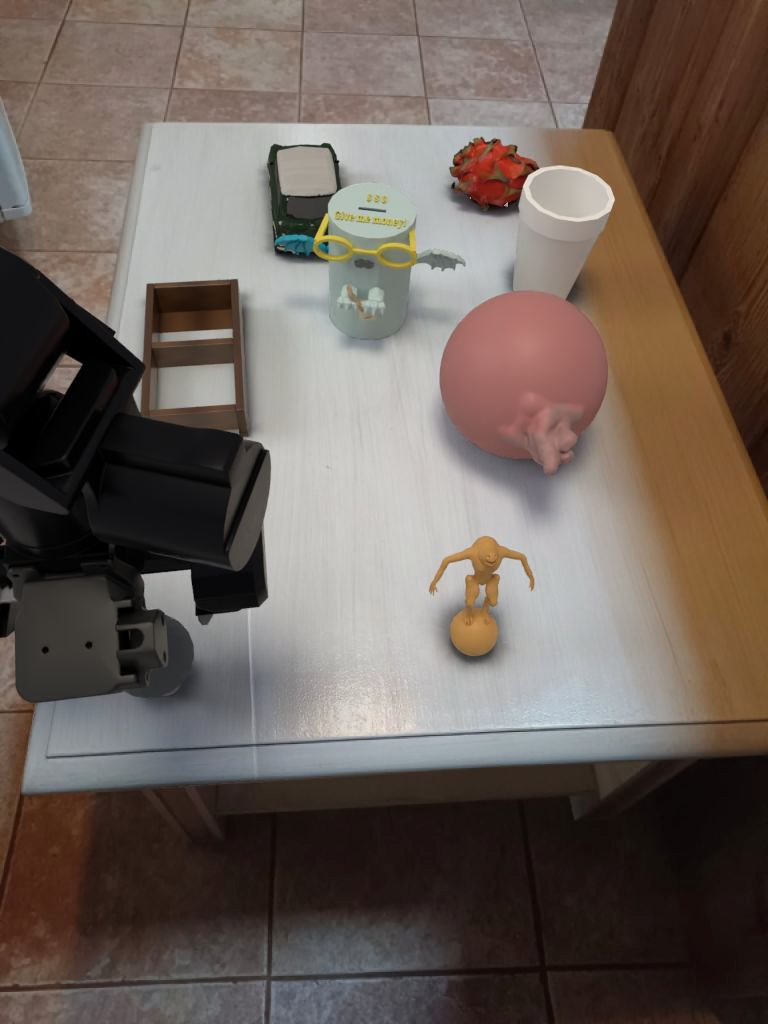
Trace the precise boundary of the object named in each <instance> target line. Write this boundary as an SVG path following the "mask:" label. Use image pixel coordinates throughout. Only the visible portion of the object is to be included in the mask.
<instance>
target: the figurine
mask: <svg viewBox="0 0 768 1024" xmlns="http://www.w3.org/2000/svg"><path fill="white" fill-rule="evenodd" d="M504 558H505V559H511V560H517V561H520V562H521V566H522V567H523V570H524V573H525V575H526V576H527V578H528V579H529V585H528V588H529V589H530V592H532V591H534V589H535V584H536V583H535V577H534V574H533V571H532V569H531V567H530V565H529V561H528V558H527V556H526V554H524V553H522V552H519V551H516V550H513V549H509V548H508V547H506V546H503V545H500V544H499V542H498V541H497V540H496V539H495V538H494V537H492V536H489V535H482V536H480V537H478V538H477V539H476V540H475V541H474V542H473V544H472V546H470V547H468V548H465V549H464V550H462V551H460V552H459V551H458V552H456V553H453V554H450V555H448V556H446V557H444V558H443V559H442V561H441V563H440V566H439V568H438V569H437V571H436V573H435V575H434V578H433V579H432V581H431V582H430V585H429V587H428V593H429V594H430V596H431V595H432V596H433V597H435V592H436V593H438V588H437V583H438V582H439V581H440V580H441V579H442V577H443V575H444V573H445V571H446V569H447V568H448V566H449V565H450V564H453V563H458V562H461V561H465V560H470V561H471V566H472V568H473V570H474V574H467V575H465V577H464V582H465V589H464V604H465V608H463V609H462V610H460V611H458V612H457V613H456V614H455V616H453V619H452V620H451V623H450V626H449V637H450V641H451V642H452V645H453V646H454V647H455V648H456V649H457V650H458V651H459V652H460V653H462V654H464V655H465V656H469V657H479V656H483V655H485V654H487V653H489V652H490V651H491V650H492V649H493V648H494V647H495V645H496V643H497V641H498V637H499V627H498V623H497V621H496V618H495V617H494V616H493V614H492V613H490V607H492V608H494V607H496V606H497V605H498V601H499V600H498V599H499V583H500V580H501V575H500V574H498V573H495V572H497V571H498V570H499V568H500V566H501V564H502V561H503V559H504ZM480 586H485V588H484V593H485V597H484V599H483V602H482V608H481V607H474V606H475V605H476V601H477V599H478V598H479V597H480V593H481V589H480Z"/></svg>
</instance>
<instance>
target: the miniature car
mask: <svg viewBox="0 0 768 1024" xmlns="http://www.w3.org/2000/svg"><path fill="white" fill-rule="evenodd" d="M266 168H267V170H266V171H267V177H268V179H267V180H268V186H269V187H268V188H269V197H270V208H271V219H272V233H273V235H272V236H273V247H274V252H275V253H280V252H281V253H282V252H285V246H284V245H282V244H277V245H276V246H275V241H276V239H277V238H279V237H281V236H286V235H291V236H292V235H306V236H308V237H312V238H314V239H315V236H316V234H317V232H318V230H319V228H320V226H321V223H322V221H323V219H324V217H325V215H326V213H327V214H328V204H329V202H330V200H331V198H332V196H333V195H334V194H336V193H337V192H338V191H339V190H341V189H342V184H341V179H340V160H339V159H338V157H337V153H336V151H335V150H334V148H333V146H332V145H331V143H329V142H322V143H321V144H301V143H300V144H293V145H281V144H277V143H273V144H272V145H270V149H269V152H268V156H267V161H266ZM327 235H328V226H327V229H326V231H325V233H324V235H323V236H327ZM322 244H324V245H325V246H328V245H329V241H327V242H323V243H322ZM287 252H291V253H292V254H294V255H296V253H295V252H294V251H291V250H288V251H287ZM313 252H314V251H312V252H311V253H313ZM314 253H315V252H314Z"/></svg>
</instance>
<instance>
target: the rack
mask: <svg viewBox="0 0 768 1024" xmlns="http://www.w3.org/2000/svg"><path fill="white" fill-rule="evenodd" d="M145 286H146V287H145V310H144V328H143V331H144V332H143V350H142V351H143V352H142V362H143V363H144V364H145V366H146V372H145V373H144V375H143V377H142V379H141V393H140V411H139V412H140V414H141V415H142V416H143V417H144V418H149V419H154V420H159V421H164V422H169V423H173V424H178V425H183V426H188V427H195V428H212V429H218V430H223V431H232V430H233V431H234V430H238V434H239V435H240V436H242V437H243V438H245V437H250V430H249V429H250V427H249V412H248V393H247V391H248V390H247V373H246V355H245V337H244V336H245V335H244V334H245V333H244V318H243V317H244V316H243V315H244V314H243V306H242V304H243V303H242V300H241V299H242V297H241V292H240V291H241V289H240V284H239V279H238V278H228V279H211V280H207V279H206V280H191V281H188V280H187V281H170V282H169V281H167V282H155V283H154V282H151V283H146V285H145ZM219 330H221V331H222V330H232V337H221V338H205V339H203V338H202V339H187V340H173V341H159V338H160V337H159V335H160V334H168V333H169V334H170V333H171V334H172V333H185V332H186V333H187V332H202V331H219ZM226 364H233V373H234V394H235V398H234V399H235V403H231V404H230V403H229V404H218V405H217V404H215V405H203V406H201V405H200V406H189V407H176V408H175V407H174V408H161V409H159V408H158V409H157V402H158V401H157V397H158V369H165V368H180V367H181V368H182V367H196V366H211V365H226Z"/></svg>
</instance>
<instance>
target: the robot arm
mask: <svg viewBox="0 0 768 1024" xmlns="http://www.w3.org/2000/svg"><path fill="white" fill-rule="evenodd" d="M116 334H117V331H115V330H114V329H113V328H112V327H110V326H109V325H107V324H106V323H104V322H103V321H102V320H100V318H98V317H96V316H95V315H94V314H92V313H91V312H89V311H88V310H87V309H85V308H84V307H83V306H81V305H80V304H78V303H77V302H76V301H75V300H74V299H73V298H72V297H70V296H69V295H68V294H67V293H66V292H65V291H63V290H62V289H61V288H60V287H59V286H58V285H57V284H55V282H53V281H52V280H51V279H50V278H49V277H47V276H46V275H45V274H44V273H43V272H42V271H41V270H40V269H38V267H36V266H35V265H33V264H32V263H31V262H29V261H28V260H27V259H25V258H24V257H22V256H20V255H19V254H17V253H15V252H13V251H11V250H9V249H7V248H6V247H3V246H1V245H0V639H4V638H8V637H9V636H10V635H12V633H13V632H14V675H15V676H14V679H15V681H14V682H15V690H16V692H17V694H18V696H19V697H20V698H21V699H22V700H24V701H25V702H28V703H31V704H41V703H49V702H59V701H66V700H74V699H75V700H76V699H83V698H91V697H99V696H108V695H115V694H116V695H117V694H121V693H123V692H125V690H128V689H136V688H141V687H142V688H144V687H148V686H149V675H150V672H151V671H152V670H154V669H162V668H165V667H166V666H167V664H168V643H167V626H166V617H165V615H166V613H165V612H164V611H163V610H162V609H160V608H153V609H148V608H147V605H146V597H145V585H146V584H145V580H144V579H143V576H142V575H153V574H161V573H163V574H164V573H171V572H180V571H181V572H182V571H183V572H184V571H190V582H191V589H192V596H193V601H194V604H195V605H194V612H195V613H194V616H195V617H197V620H198V622H199V623H200V625H201V626H208V625H209V623H210V622H211V620H212V618H213V616H214V615H220V614H229V613H238V612H240V611H242V610H247V609H256V608H260V607H261V606H262V605H263V604H264V603H265V602H266V601H267V600H268V598H269V584H268V570H267V569H268V568H267V553H266V539H265V524H264V520H265V517H266V513H267V508H268V503H269V497H270V489H271V479H272V477H271V476H272V459H271V453H270V449H265V446H264V445H263V443H262V442H259V441H256V440H252V439H247V438H246V439H245V438H244V437H242V436H240V435H239V433H237V432H232V431H229V430H218V429H212V428H195V427H188V426H183V425H178V424H173V423H169V422H164V421H159V420H154V419H149V418H144V417H143V416H142V415H141V414H140V412H141V411H140V410H139V407H138V405H137V402H136V399H135V396H134V394H135V392H136V391H137V388H138V386H139V384H140V383H141V382H142V377H143V375H144V373H145V372H146V366H145V364H144V363H143V360H141V359H140V358H138V357H137V356H136V355H135V354H134V353H133V352H131V350H129V349H128V348H127V347H126V346H125V345H124V344H123V343H122V342H121V341H120V340H118V338H116V337H115V335H116ZM65 356H67V357H69V358H71V359H72V360H74V361H75V362H78V363H80V364H81V366H80V368H79V369H78V371H77V373H76V374H75V376H74V378H73V379H72V381H71V383H70V384H69V386H68V388H67V389H66V391H65V393H62V392H60V391H57V390H55V389H51V388H47V387H46V386H47V384H48V383H49V381H50V380H51V378H52V376H53V374H54V373H55V372H56V370H57V368H58V367H59V365H60V363H61V362H62V361H63V359H64V357H65ZM3 543H5V544H3Z"/></svg>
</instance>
